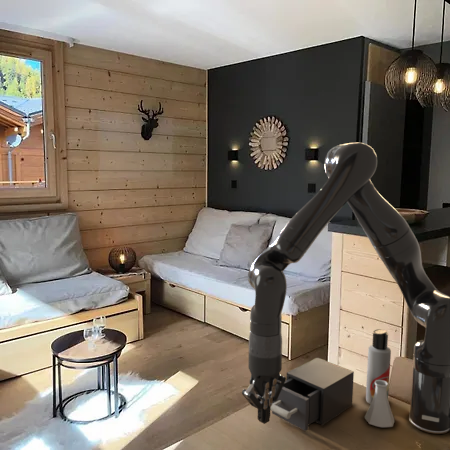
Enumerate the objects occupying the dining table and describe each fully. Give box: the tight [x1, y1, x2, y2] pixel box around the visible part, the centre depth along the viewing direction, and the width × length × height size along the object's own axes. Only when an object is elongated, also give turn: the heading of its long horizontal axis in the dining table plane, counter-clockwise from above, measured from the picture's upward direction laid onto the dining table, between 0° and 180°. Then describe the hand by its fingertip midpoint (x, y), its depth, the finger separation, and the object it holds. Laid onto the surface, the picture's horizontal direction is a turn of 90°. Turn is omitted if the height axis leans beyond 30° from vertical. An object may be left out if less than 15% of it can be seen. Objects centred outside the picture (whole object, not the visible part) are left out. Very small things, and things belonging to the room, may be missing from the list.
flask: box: [364, 380, 395, 428], centre depth 113 cm, size 7×7×10 cm
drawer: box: [270, 378, 321, 432], centre depth 113 cm, size 17×10×8 cm, turn 133°
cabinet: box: [286, 357, 355, 426], centre depth 119 cm, size 14×12×10 cm
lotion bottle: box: [365, 328, 392, 405], centre depth 121 cm, size 6×6×20 cm
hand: (263, 421), depth 104 cm, fingers closed
